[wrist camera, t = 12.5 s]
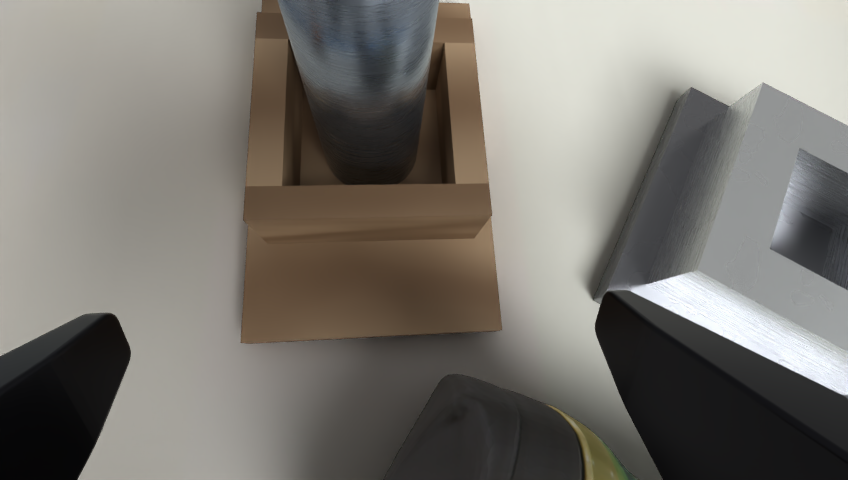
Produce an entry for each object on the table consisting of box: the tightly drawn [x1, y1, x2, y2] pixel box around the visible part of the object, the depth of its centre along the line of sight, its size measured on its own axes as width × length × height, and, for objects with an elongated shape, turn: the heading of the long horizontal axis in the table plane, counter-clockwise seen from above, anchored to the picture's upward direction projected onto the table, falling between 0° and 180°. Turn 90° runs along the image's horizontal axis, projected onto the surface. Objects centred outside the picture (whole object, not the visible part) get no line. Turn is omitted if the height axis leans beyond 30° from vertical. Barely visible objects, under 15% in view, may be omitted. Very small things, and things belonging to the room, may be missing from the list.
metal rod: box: [278, 0, 439, 185], centre depth 12 cm, size 4×4×12 cm
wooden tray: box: [241, 0, 502, 344], centre depth 17 cm, size 16×10×4 cm, turn 3°
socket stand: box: [593, 83, 848, 398], centre depth 18 cm, size 12×12×4 cm
